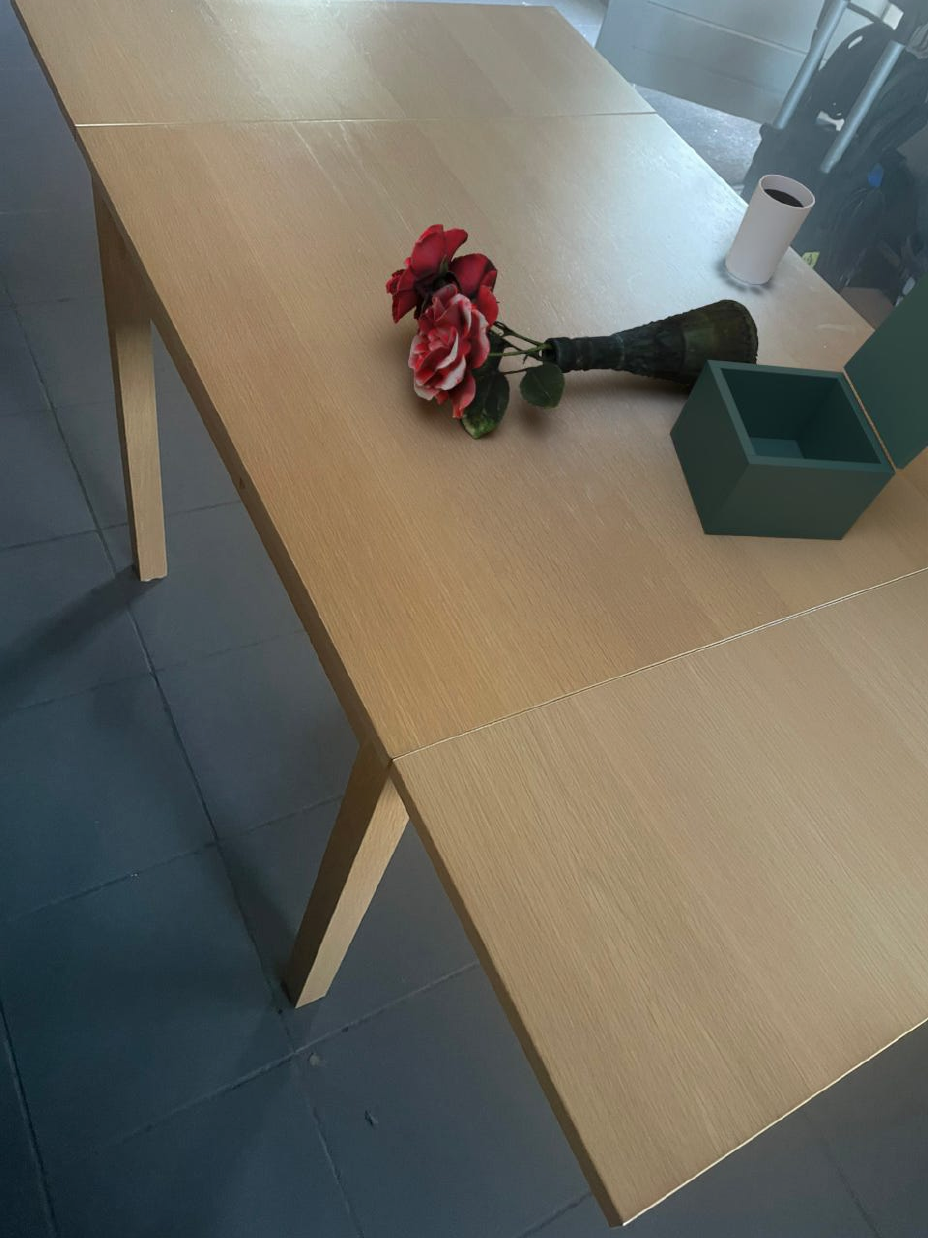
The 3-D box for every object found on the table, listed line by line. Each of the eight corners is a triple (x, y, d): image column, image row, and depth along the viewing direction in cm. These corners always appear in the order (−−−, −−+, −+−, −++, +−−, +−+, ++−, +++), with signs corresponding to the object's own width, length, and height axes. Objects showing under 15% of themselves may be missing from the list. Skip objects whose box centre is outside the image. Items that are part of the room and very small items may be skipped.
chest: (704, 534, 83) (749, 463, 76) (669, 432, 90) (707, 359, 83) (841, 540, 86) (896, 472, 79) (796, 441, 93) (843, 371, 86)
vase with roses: (671, 426, 103) (377, 452, 88) (658, 254, 100) (353, 252, 86) (773, 408, 89) (443, 435, 74) (761, 208, 86) (417, 196, 72)
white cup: (778, 290, 109) (821, 213, 101) (726, 281, 108) (765, 201, 100) (767, 258, 113) (807, 180, 105) (716, 248, 112) (753, 169, 104)
